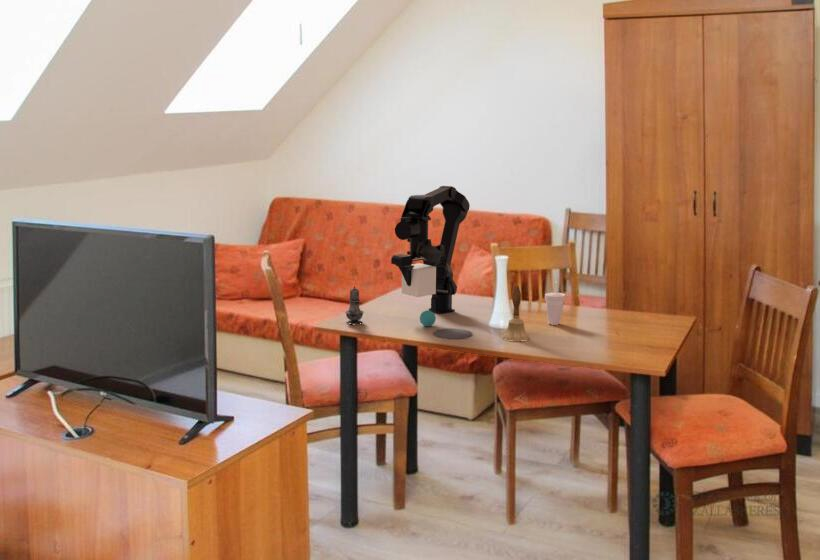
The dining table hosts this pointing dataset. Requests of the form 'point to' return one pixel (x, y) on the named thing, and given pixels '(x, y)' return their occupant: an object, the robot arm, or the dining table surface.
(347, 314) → the salt shaker
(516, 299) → the hand bell
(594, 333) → the dining table surface
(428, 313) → the ball
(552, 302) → the smoothie
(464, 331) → the disc
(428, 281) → the white block
